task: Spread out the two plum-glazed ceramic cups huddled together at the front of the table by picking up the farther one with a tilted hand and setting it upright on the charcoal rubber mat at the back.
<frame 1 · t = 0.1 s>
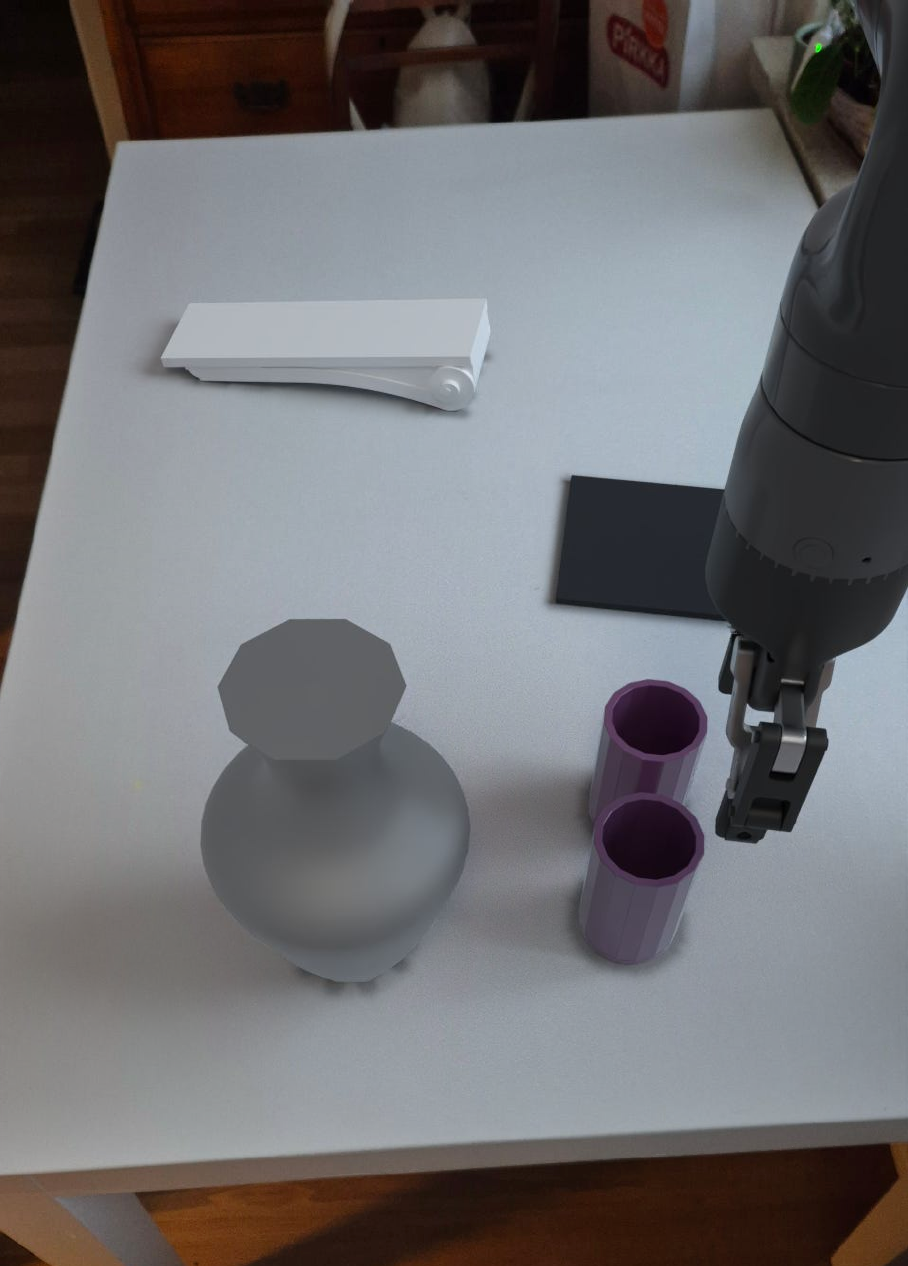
hand: (738, 758, 55), 20 cm above the table, tool pointing down, fingers open, 8 cm apart
plum cup b: (634, 809, 77), on the table
mat: (676, 550, 90), on the table
wall bracket: (329, 368, 103), on the table
vase: (354, 937, 72), on the table
plum cup a: (626, 920, 72), on the table
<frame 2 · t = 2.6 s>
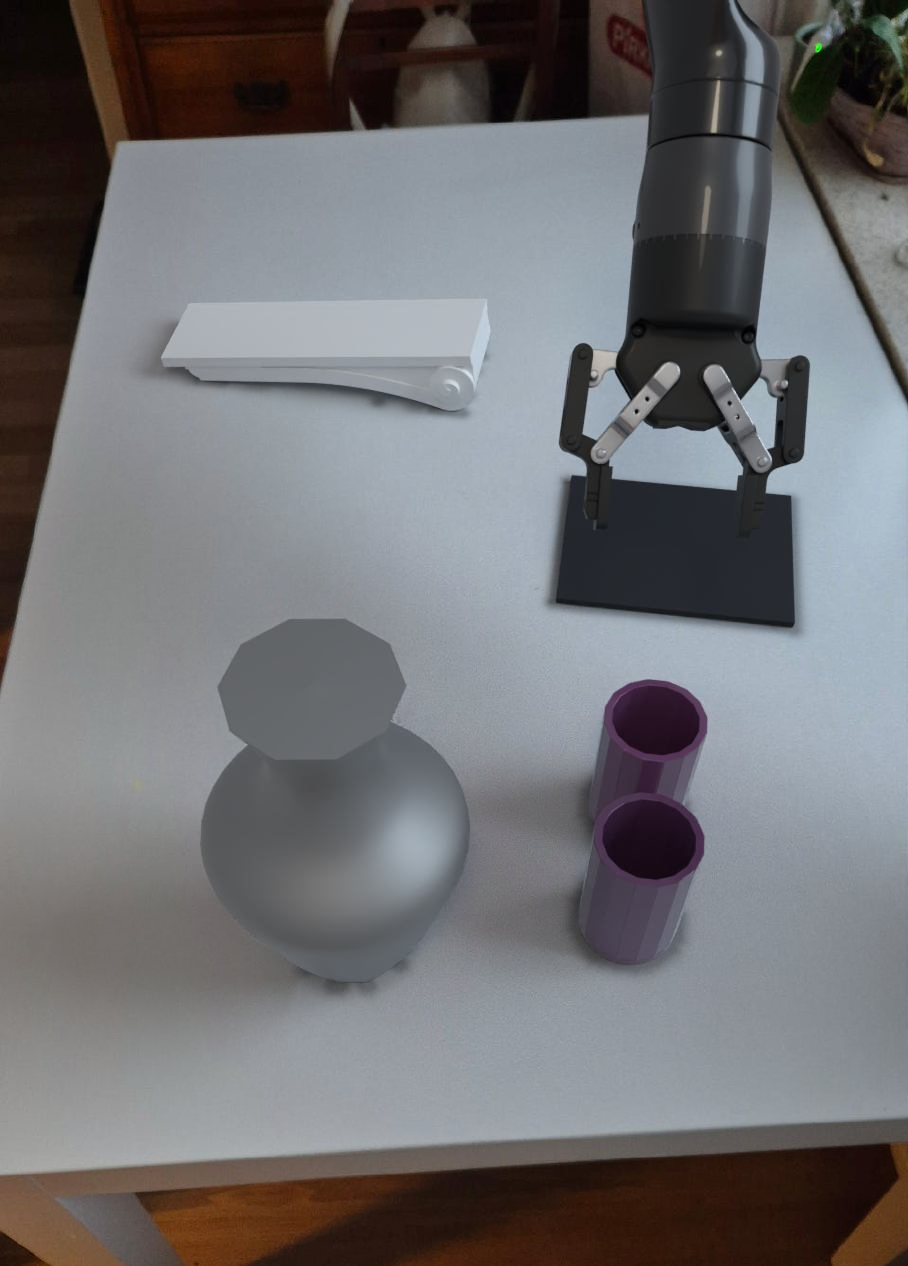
hand: (670, 534, 69), 16 cm above the table, tool tilted 40°, fingers open, 8 cm apart
nothing on the table moved.
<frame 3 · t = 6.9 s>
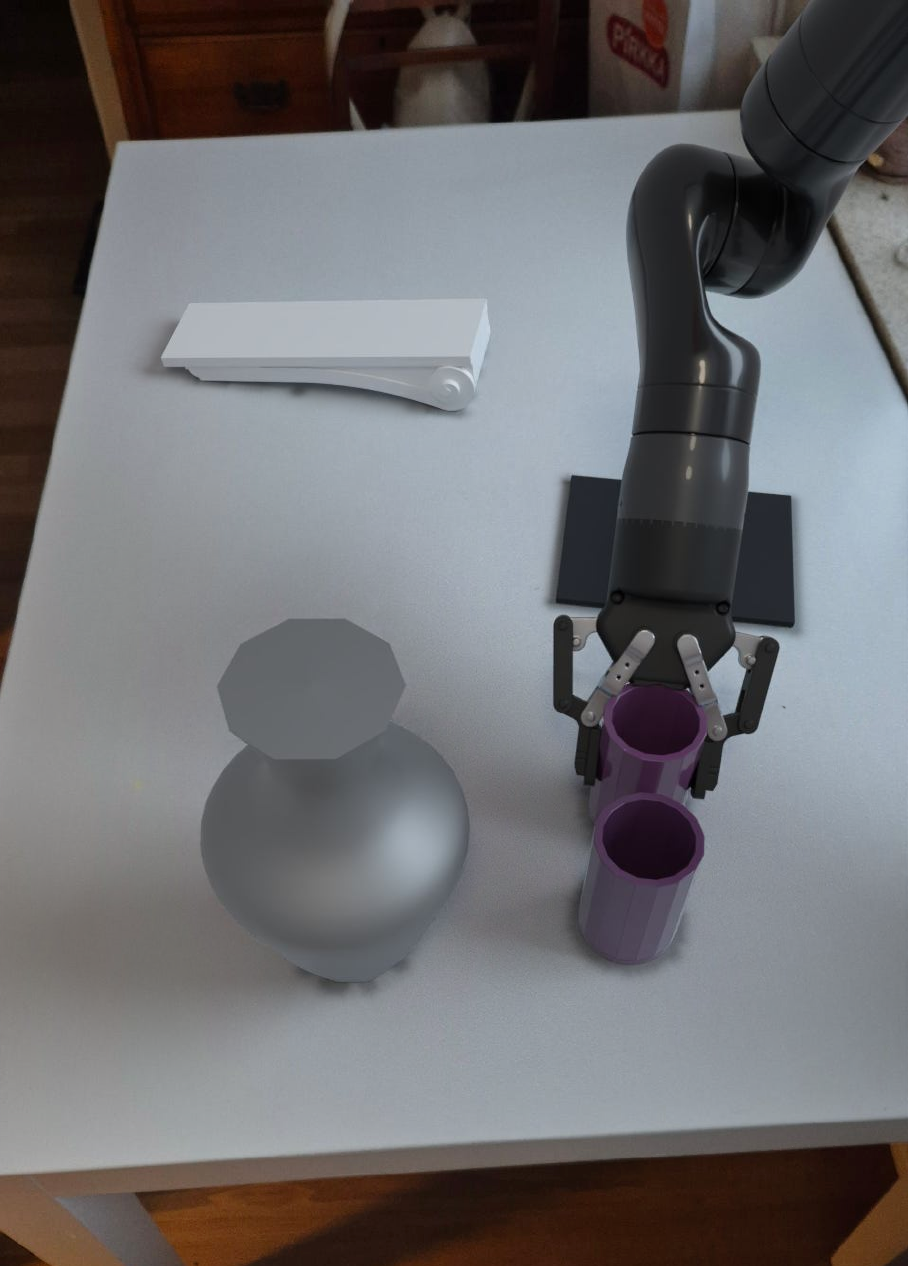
hand: (643, 789, 72), 5 cm above the table, tool tilted 45°, fingers closed on plum cup b, 6 cm apart
plum cup b: (634, 809, 77), on the table, touching gripper
everything else where it was.
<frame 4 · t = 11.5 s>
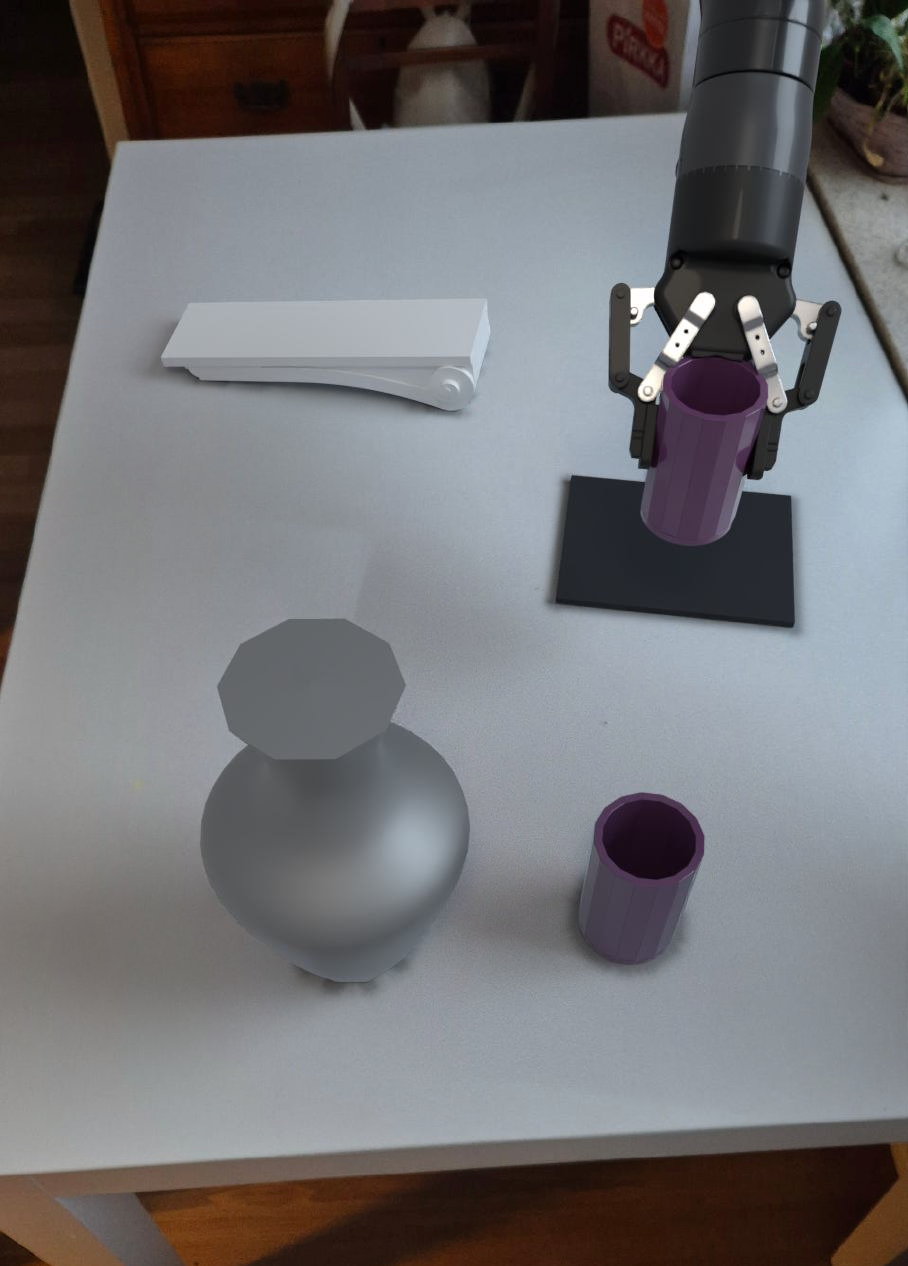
hand: (699, 472, 71), 16 cm above the table, tool tilted 45°, fingers closed on plum cup b, 6 cm apart
plum cup b: (686, 512, 76), point 12 cm above the table, touching gripper
everything else where it was.
when the fingers open (5 cm above the table, at t = 16.2 s): plum cup b stays where it is, resting on mat.
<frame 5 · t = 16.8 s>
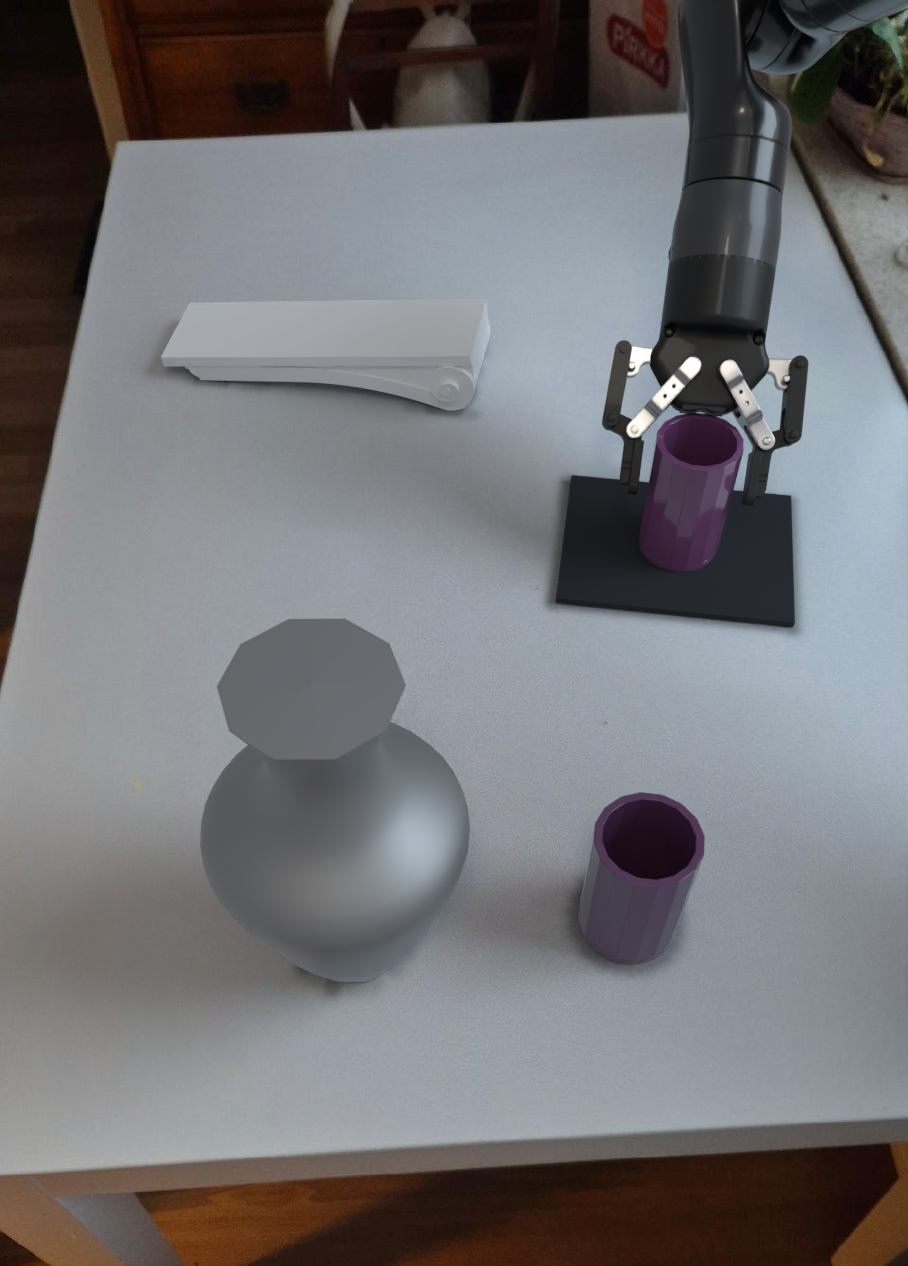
hand: (690, 499, 84), 6 cm above the table, tool tilted 45°, fingers open, 8 cm apart
plum cup b: (677, 543, 90), point 1 cm above the table, touching mat
everything else where it was.
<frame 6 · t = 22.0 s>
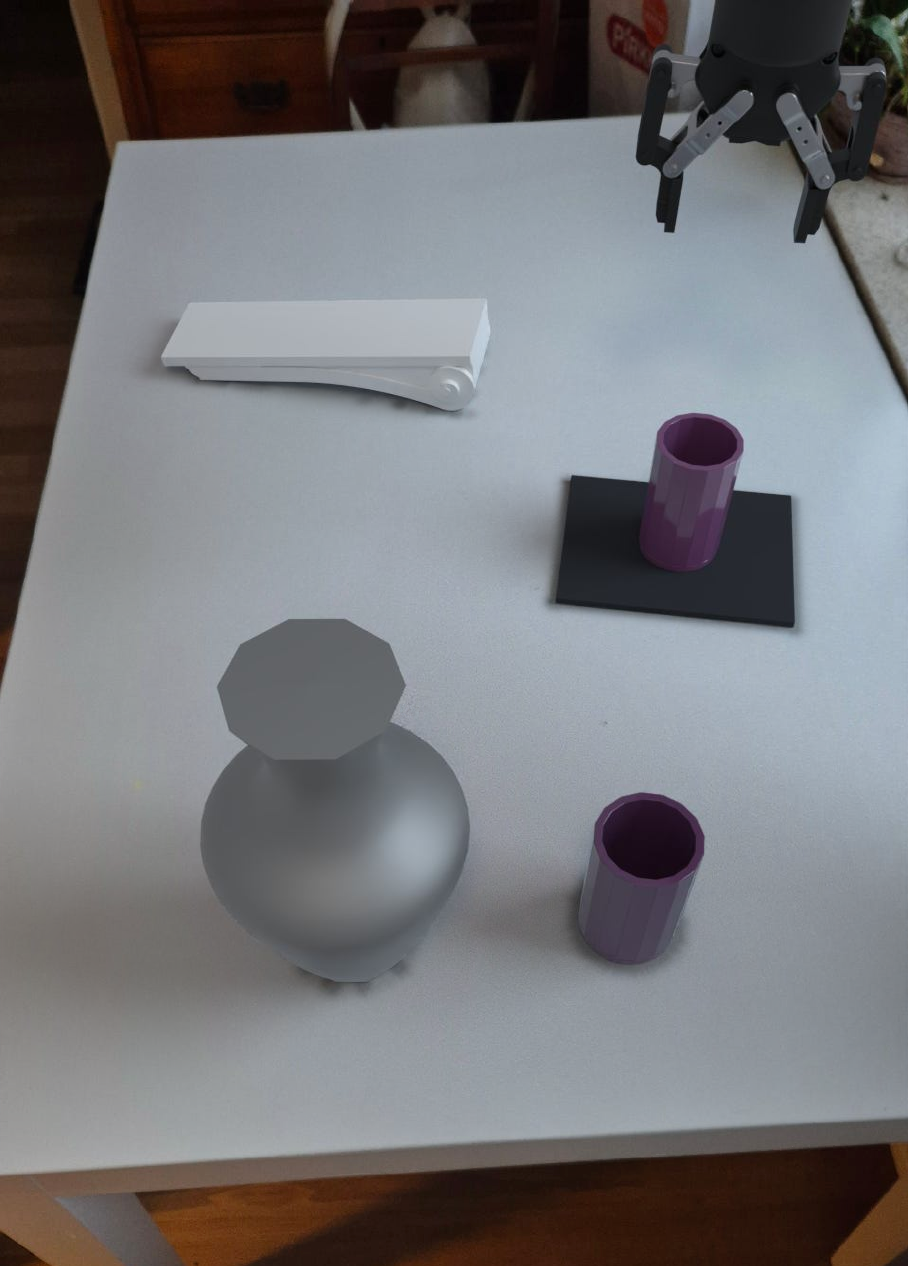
hand: (734, 231, 76), 22 cm above the table, tool pointing down, fingers open, 8 cm apart
nothing on the table moved.
at the end: plum cup b inside the target area on the mat (0.1 cm from its centre), point 0.6 cm above the mat's base; plum cup b tilted 0°; plum cup a moved 0.0 cm from its start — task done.
